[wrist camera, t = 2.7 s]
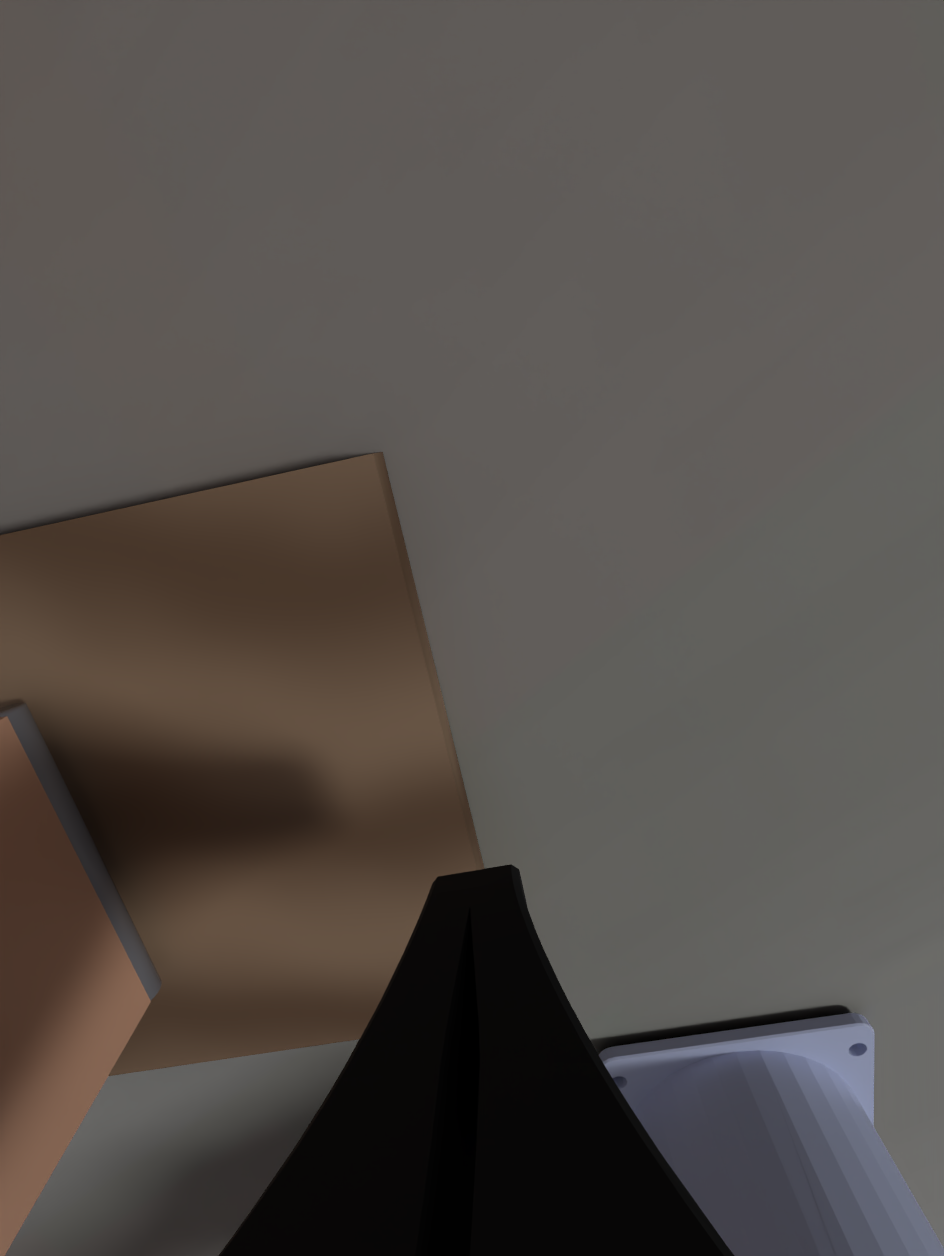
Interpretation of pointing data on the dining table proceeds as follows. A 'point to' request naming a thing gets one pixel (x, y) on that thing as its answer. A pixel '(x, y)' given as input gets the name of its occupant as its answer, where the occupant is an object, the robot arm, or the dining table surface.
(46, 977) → the tile
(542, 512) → the dining table surface
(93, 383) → the dining table surface
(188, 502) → the walnut board
